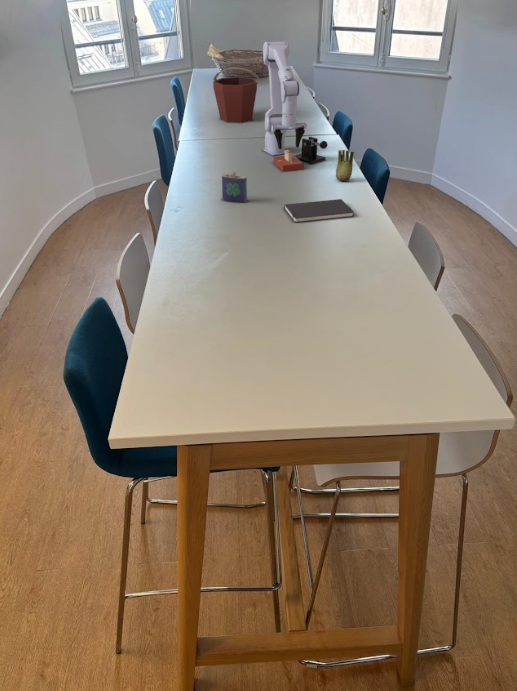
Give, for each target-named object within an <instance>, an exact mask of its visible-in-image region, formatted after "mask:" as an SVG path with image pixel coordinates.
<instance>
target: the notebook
mask: <svg viewBox="0 0 517 691" xmlns="http://www.w3.org/2000/svg"><path fill="white" fill-rule="evenodd" d="M284 210H285V211H286V213H287V215H289V217H290V219H291V220H292V221H293V222H294V223H302V222H303V223H304V222H312V221H313V222H314V221H323V220H332V219H342V218H343V219H344V218H351V217H354V210H353V209H352V208H351V207H350V206H349V205H348V204H347V203H346V202H345V201H344V200H343V199H342V198H339V199H338V198H337V199H328V200H318V201H308V202H296V203H287V204H284Z"/></svg>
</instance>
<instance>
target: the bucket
mask: <svg viewBox="0 0 517 691" xmlns="http://www.w3.org/2000/svg"><path fill="white" fill-rule="evenodd" d="M229 70H238V71H243V72H246V73H249V75H250V76H252V78H251V77H243V76H231V77H230V76H229V77H220V78H218V76H220V75H221V74H222V73H224V72H226V71H229ZM217 78H218V79H217ZM256 79H257V80H256ZM212 80H213V81H212V84H213V86H212V87H213V92H214V97H215V101H216V105H217V109H218V114H219V119H220V120H221V121H223V122H226V123H239V124H241V123H245V122H250V121H252V120H253V115H254V111H255V110H254V109H255V103H256V97H257V90H258V84H259V82H260V80H261V79H260V77H259V76H258V75H257V74H256V73H255V72H254V71H253V70H251V69H247V68H245V67H237V66H229V67H227V68H224V69H222V70H220V71H219V72H217V73H216V74H214V76H213V78H212Z"/></svg>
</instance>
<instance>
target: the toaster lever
mask: <svg viewBox="0 0 517 691" xmlns="http://www.w3.org/2000/svg"><path fill="white" fill-rule="evenodd" d="M307 139H308V140H311V139H309V138H307ZM314 145H317V147H320V149H321V150H325V149H327V148H328V142H327V141H326V140H321V141H320V142H318V141H317V142H314V140H311V146H314Z"/></svg>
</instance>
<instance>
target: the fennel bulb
mask: <svg viewBox="0 0 517 691" xmlns="http://www.w3.org/2000/svg"><path fill="white" fill-rule="evenodd" d="M337 152H338V153H337V154H338V157H337V162H336V163H337V164H336V169H335V178H336V180H338V181H340V182H348V181H350V179H351V178H352V174H353V168H354V167H353V163H354V152H355V151H354V150H349V149H346V150H345V149H338V151H337Z"/></svg>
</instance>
